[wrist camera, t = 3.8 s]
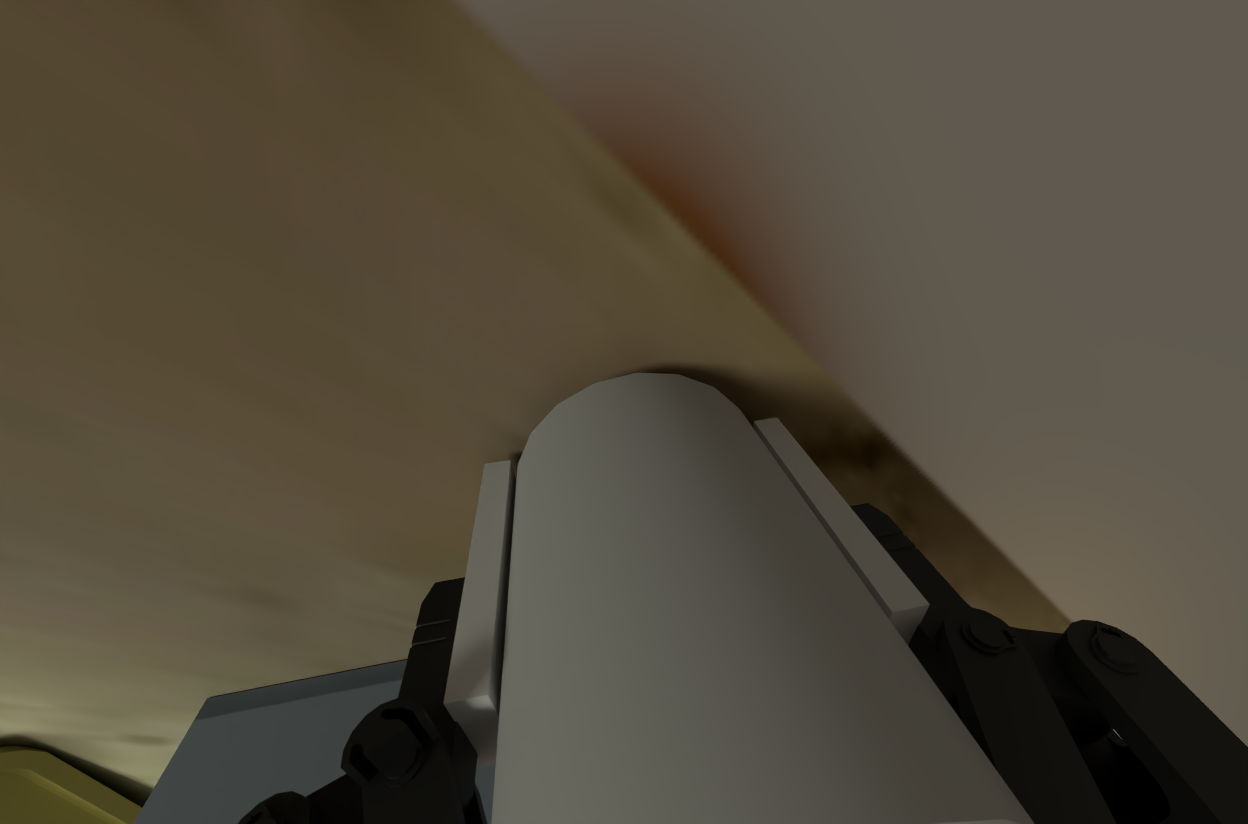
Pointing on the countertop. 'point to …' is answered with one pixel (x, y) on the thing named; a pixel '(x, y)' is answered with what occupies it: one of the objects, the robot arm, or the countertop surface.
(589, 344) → the countertop surface
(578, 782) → the can
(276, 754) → the bin
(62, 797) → the plastic component
